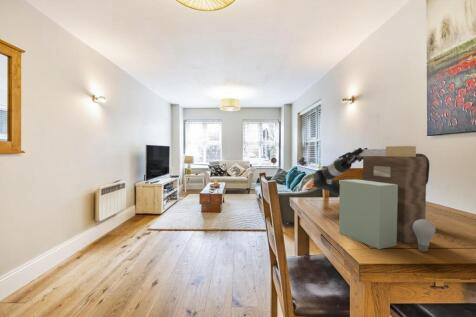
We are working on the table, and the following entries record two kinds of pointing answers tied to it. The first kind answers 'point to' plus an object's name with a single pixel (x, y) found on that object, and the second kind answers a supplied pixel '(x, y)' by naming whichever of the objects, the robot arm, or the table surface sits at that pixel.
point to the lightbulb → (423, 233)
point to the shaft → (390, 151)
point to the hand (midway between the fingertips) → (364, 149)
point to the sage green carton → (369, 212)
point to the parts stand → (401, 188)
